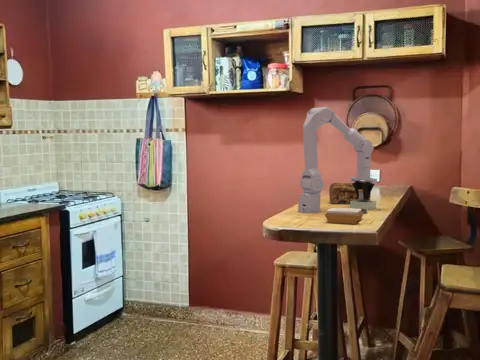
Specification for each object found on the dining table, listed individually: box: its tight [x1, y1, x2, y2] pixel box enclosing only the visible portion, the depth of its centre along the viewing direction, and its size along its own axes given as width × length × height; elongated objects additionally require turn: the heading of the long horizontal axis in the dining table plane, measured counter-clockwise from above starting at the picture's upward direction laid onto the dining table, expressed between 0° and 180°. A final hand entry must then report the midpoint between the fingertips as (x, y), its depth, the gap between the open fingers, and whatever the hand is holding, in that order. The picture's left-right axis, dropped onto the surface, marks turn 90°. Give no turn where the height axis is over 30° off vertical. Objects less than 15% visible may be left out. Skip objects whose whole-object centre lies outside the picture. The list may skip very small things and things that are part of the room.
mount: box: [354, 208, 369, 215], centre depth 229 cm, size 10×10×2 cm
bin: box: [349, 199, 377, 211], centre depth 242 cm, size 8×8×4 cm
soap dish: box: [324, 207, 364, 225], centre depth 210 cm, size 12×10×5 cm
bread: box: [328, 182, 372, 205], centre depth 269 cm, size 19×11×10 cm, turn 86°
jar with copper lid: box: [358, 189, 367, 202], centre depth 241 cm, size 4×4×7 cm
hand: (363, 199), depth 242 cm, fingers closed on jar with copper lid, 3 cm apart
